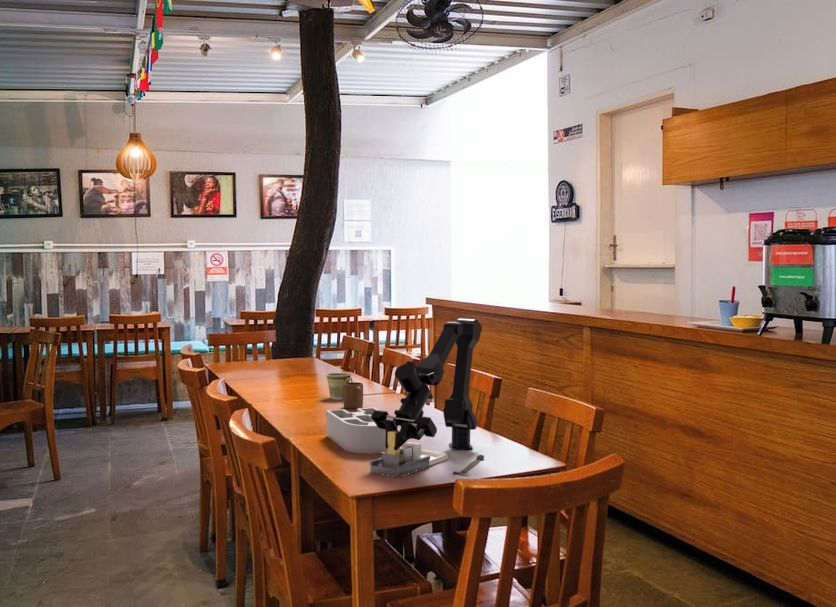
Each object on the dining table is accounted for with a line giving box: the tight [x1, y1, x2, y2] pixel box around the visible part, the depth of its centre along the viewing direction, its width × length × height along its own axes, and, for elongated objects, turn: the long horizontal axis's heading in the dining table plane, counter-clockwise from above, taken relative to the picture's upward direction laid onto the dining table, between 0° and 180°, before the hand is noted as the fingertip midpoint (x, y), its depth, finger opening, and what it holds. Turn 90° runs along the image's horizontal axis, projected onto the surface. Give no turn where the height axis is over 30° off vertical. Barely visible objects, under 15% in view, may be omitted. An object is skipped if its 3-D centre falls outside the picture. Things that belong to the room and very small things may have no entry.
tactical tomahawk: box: [452, 454, 485, 477], centre depth 219 cm, size 21×7×1 cm, turn 157°
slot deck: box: [369, 456, 430, 478], centre depth 215 cm, size 15×10×3 cm, turn 147°
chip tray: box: [421, 449, 449, 467], centre depth 225 cm, size 10×9×2 cm
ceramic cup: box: [326, 372, 354, 401], centre depth 325 cm, size 13×10×10 cm
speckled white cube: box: [403, 441, 422, 461], centre depth 219 cm, size 4×4×4 cm
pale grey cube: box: [400, 445, 412, 463], centre depth 215 cm, size 4×4×4 cm
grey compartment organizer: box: [325, 407, 387, 454], centre depth 245 cm, size 17×28×9 cm, turn 22°
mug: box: [343, 381, 364, 410], centre depth 304 cm, size 12×8×9 cm, turn 22°
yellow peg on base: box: [381, 430, 405, 467], centre depth 212 cm, size 3×6×9 cm, turn 57°
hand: (390, 448), depth 210 cm, fingers closed on yellow peg on base, 2 cm apart
